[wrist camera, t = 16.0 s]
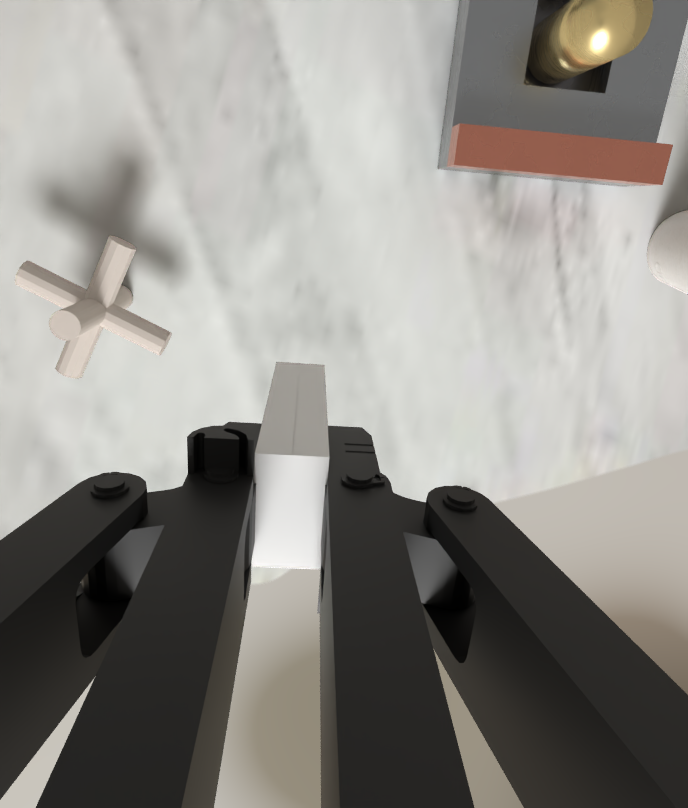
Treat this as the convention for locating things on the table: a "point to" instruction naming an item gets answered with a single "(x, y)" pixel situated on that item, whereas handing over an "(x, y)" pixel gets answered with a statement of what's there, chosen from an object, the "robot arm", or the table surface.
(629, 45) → the brass cylinder
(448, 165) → the jig
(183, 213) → the table surface
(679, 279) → the dixie cup
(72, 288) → the pipe connector
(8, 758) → the robot arm
